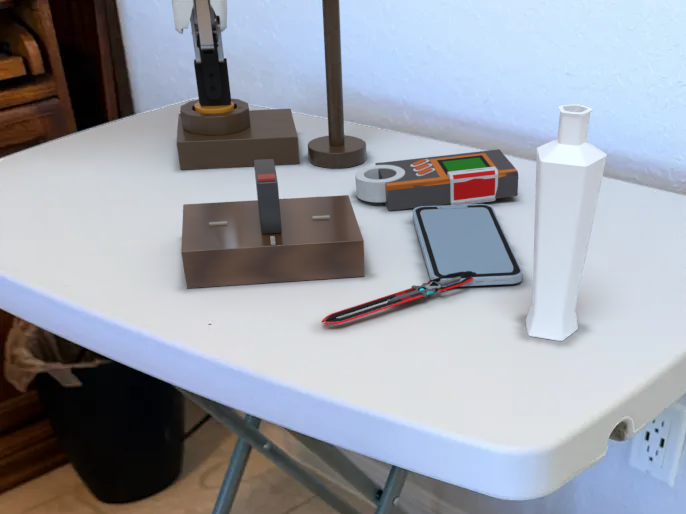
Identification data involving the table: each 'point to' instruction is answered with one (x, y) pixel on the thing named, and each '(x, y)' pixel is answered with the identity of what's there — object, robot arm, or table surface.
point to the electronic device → (439, 180)
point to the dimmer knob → (267, 196)
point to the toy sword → (400, 297)
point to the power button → (213, 108)
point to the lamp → (335, 103)
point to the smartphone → (466, 244)
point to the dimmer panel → (271, 242)
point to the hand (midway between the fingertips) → (215, 103)
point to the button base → (235, 137)
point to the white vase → (563, 222)
